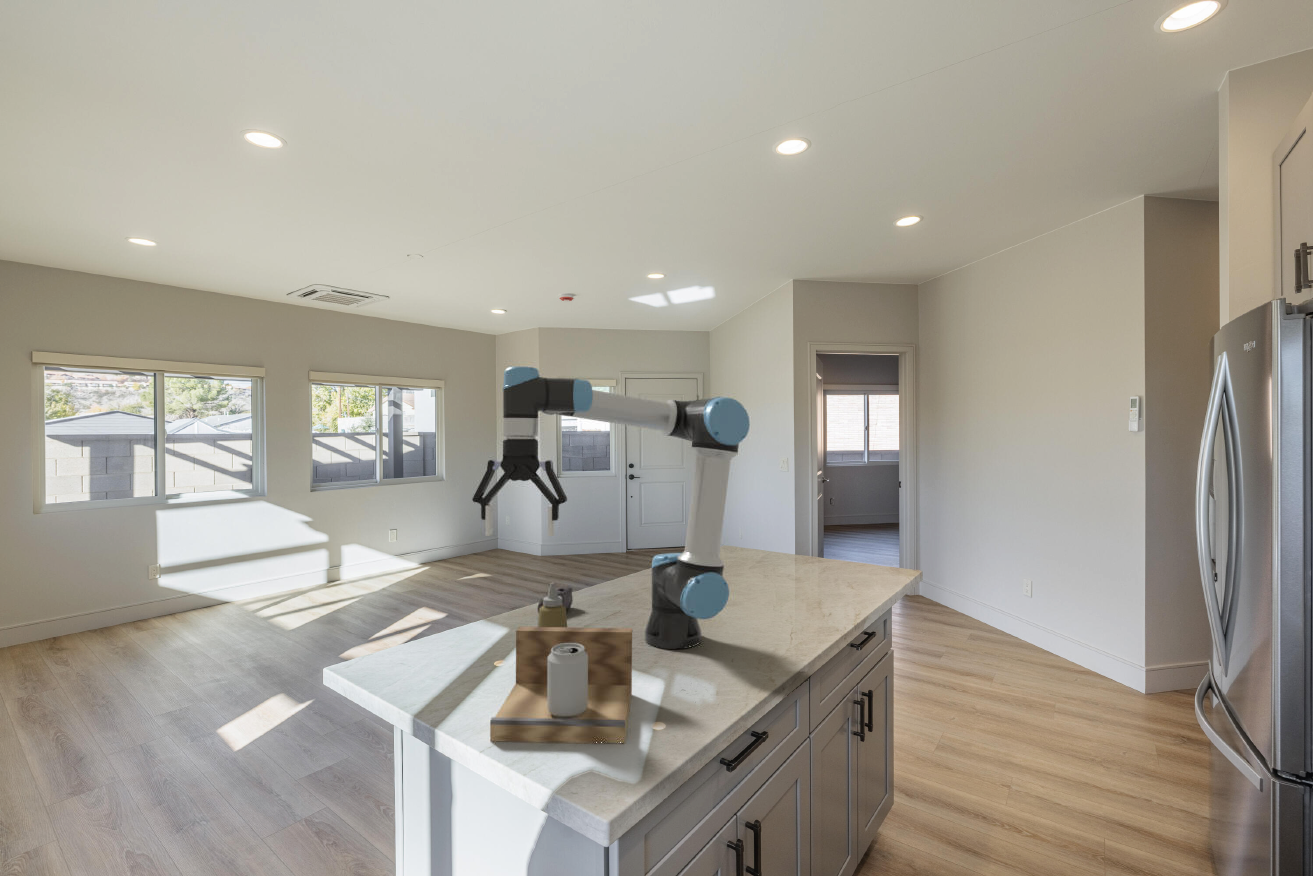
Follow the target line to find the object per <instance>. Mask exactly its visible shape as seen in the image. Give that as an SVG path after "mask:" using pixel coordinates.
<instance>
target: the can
mask: <svg viewBox="0 0 1313 876" xmlns="http://www.w3.org/2000/svg"><path fill="white" fill-rule="evenodd" d="M584 650H585V647H584V646H583V645H581V644H577V643H562V644H558V645H556V646H554V647H553V648H552V649H551V653H550V655H549V656H548V697H547V709H548V711H549V712H550V713H552V715H553V716H555V717H557V718H561V719H571V718H575V717H578V716H580V715H581V714H582V713H583V712H584V711H585V710H586V709H587V708H588V654H587V653H586V652H585V651H584Z"/></svg>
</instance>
